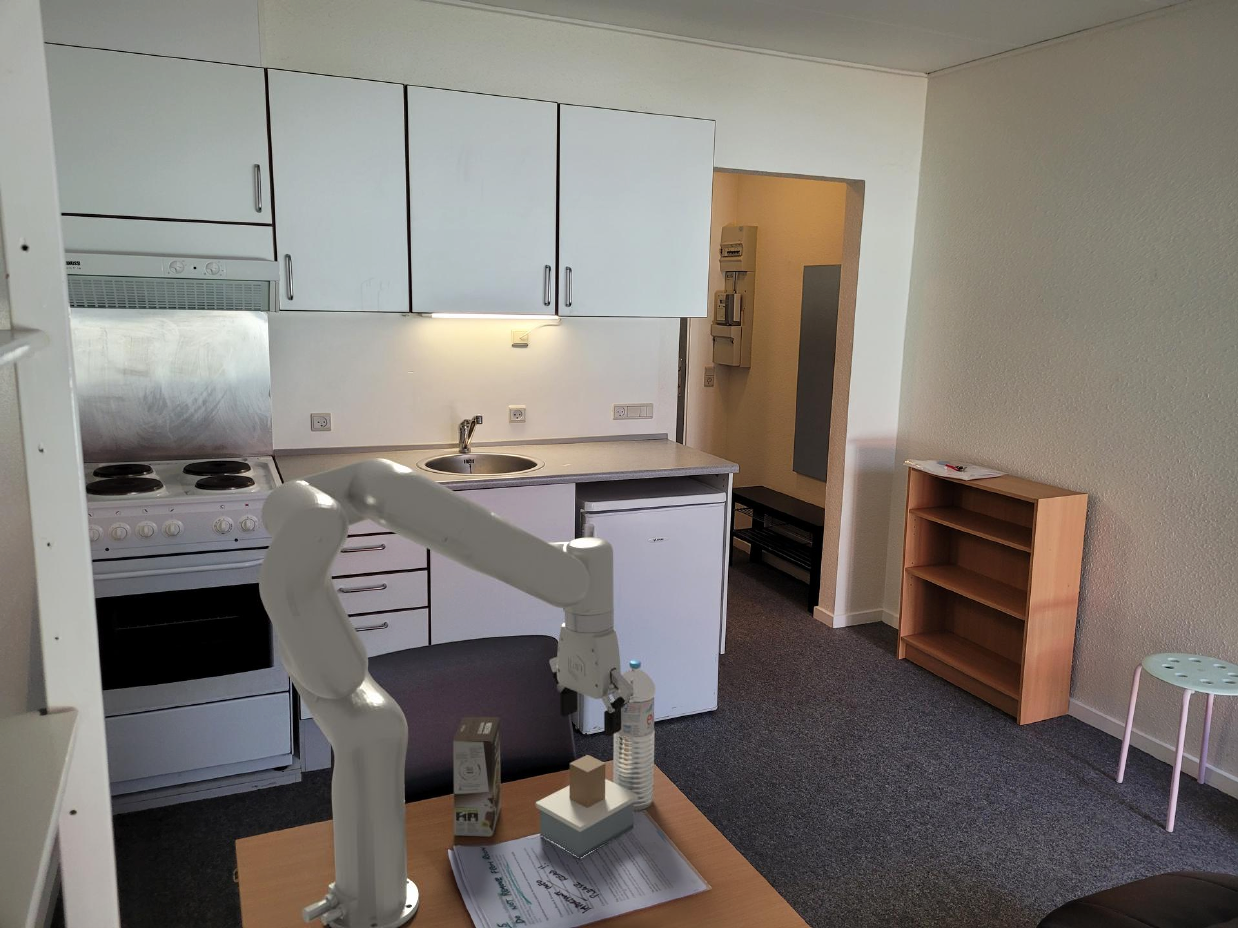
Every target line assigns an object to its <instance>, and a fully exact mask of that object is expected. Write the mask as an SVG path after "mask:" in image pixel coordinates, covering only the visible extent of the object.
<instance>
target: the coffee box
mask: <svg viewBox="0 0 1238 928" xmlns="http://www.w3.org/2000/svg"><path fill="white" fill-rule="evenodd" d="M500 720H501V718H500V716H499V717H497V716H476V717H472V716H471V717H469V716H468V717H467V716H463V717H462V718H461V721H460V723H459V726H458V728H457V730H456V732H455V735H454V737H453V740H452V746H453V747H452V749H453V754H452V755H453V756H452V757H453V761H452V762H453V764H452V765H453V769H452V770H453V818H454V820H453V821H454V822H453V825H454V827H453V835H454V836H467V837H493V835H494V831H495V829H496V825H497V823H498V822H497V821H498V818H499V814H500V812H501V807H502V801H501V800H502V799H501V798H502V797H501V796H502V795H501V787H502V786H501V783H502V782H501V735H500V734H501V724H500V723H501V721H500Z"/></svg>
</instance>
